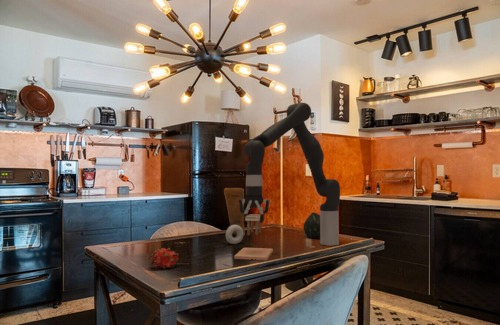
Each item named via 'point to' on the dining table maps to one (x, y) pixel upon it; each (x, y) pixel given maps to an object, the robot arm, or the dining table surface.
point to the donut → (231, 230)
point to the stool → (252, 218)
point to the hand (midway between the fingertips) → (254, 222)
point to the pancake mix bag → (235, 207)
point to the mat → (254, 253)
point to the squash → (312, 226)
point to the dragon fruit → (164, 258)
